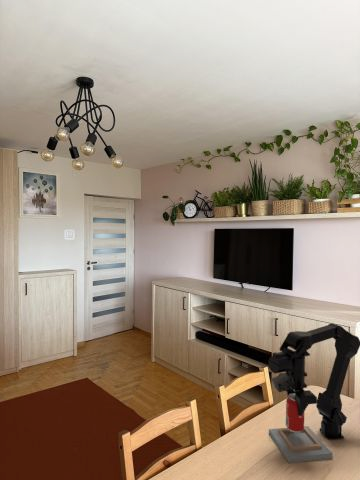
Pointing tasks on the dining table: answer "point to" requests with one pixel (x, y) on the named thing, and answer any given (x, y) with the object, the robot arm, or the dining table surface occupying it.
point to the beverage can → (293, 415)
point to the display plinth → (300, 445)
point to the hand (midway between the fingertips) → (295, 410)
